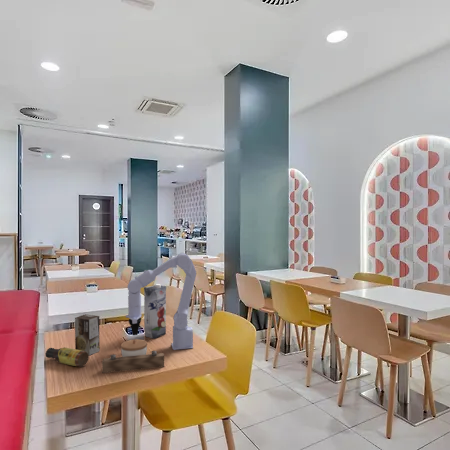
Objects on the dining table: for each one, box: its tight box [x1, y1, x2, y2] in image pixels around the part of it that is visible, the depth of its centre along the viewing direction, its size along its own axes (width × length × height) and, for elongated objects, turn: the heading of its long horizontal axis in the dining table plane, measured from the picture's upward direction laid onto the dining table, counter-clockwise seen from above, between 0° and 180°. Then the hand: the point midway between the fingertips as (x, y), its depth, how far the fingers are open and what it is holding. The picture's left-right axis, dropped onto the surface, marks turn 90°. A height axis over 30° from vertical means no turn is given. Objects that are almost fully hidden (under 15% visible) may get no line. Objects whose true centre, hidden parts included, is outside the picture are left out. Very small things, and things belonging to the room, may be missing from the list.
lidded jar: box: [120, 338, 148, 357], centre depth 143 cm, size 11×11×9 cm
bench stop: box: [101, 350, 165, 374], centre depth 136 cm, size 24×3×6 cm, turn 104°
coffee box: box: [74, 313, 101, 356], centre depth 154 cm, size 9×6×16 cm
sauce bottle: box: [44, 347, 90, 368], centre depth 141 cm, size 6×6×20 cm
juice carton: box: [143, 283, 167, 339], centre depth 176 cm, size 9×10×27 cm
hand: (135, 334), depth 156 cm, fingers closed
